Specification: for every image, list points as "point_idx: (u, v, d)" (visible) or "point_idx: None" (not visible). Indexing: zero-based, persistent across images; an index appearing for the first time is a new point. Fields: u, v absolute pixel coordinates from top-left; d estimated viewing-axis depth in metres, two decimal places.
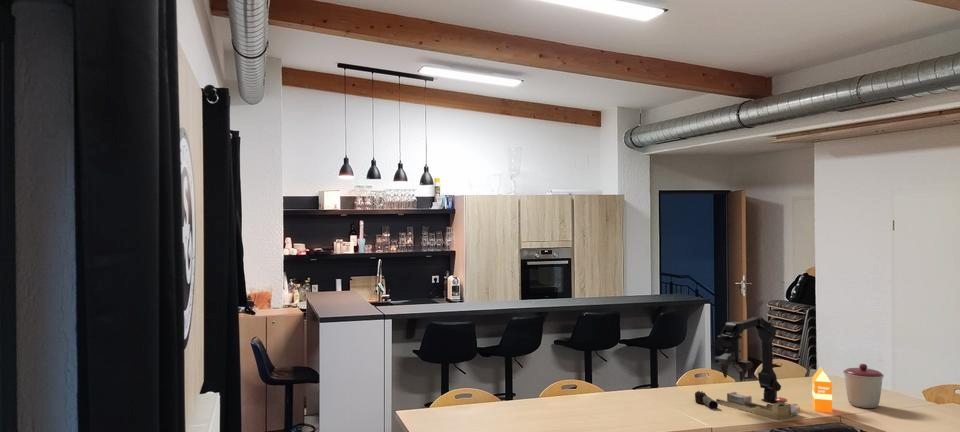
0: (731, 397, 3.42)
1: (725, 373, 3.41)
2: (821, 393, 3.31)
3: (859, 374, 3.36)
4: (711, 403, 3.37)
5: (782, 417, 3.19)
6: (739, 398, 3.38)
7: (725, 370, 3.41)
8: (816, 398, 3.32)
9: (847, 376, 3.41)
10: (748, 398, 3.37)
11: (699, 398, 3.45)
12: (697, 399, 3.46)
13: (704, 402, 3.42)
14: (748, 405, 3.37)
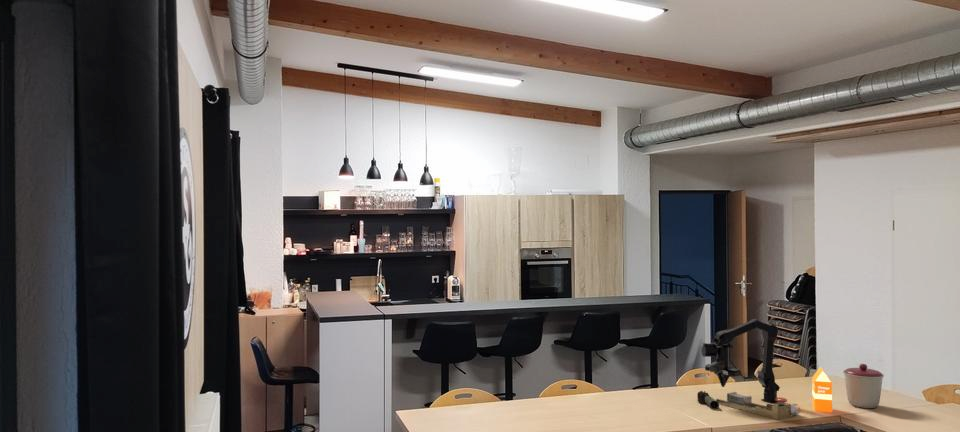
0: (731, 397, 3.42)
1: None
2: (821, 393, 3.31)
3: (859, 374, 3.36)
4: (712, 403, 3.37)
5: (782, 417, 3.19)
6: (739, 398, 3.38)
7: None
8: (816, 398, 3.32)
9: (847, 376, 3.41)
10: (748, 398, 3.37)
11: (701, 398, 3.45)
12: (699, 399, 3.46)
13: (706, 402, 3.41)
14: (748, 405, 3.37)
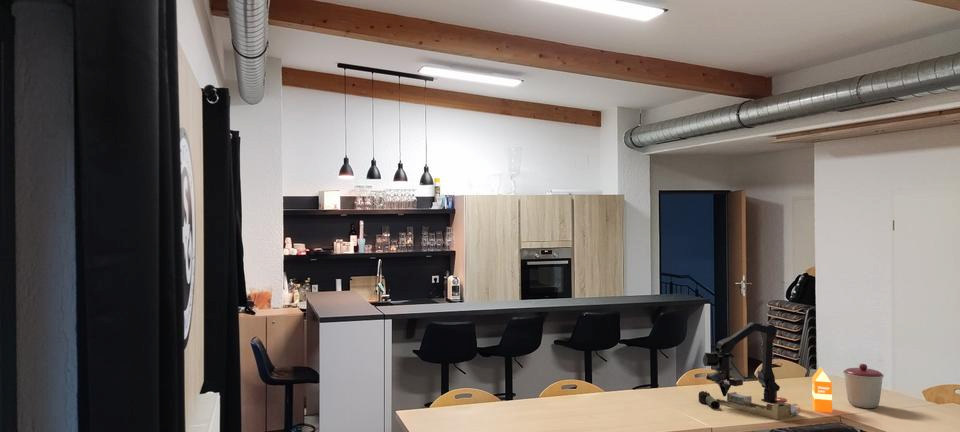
0: (731, 397, 3.42)
1: None
2: (821, 393, 3.31)
3: (859, 374, 3.36)
4: (713, 403, 3.37)
5: (782, 417, 3.19)
6: (739, 398, 3.38)
7: None
8: (816, 398, 3.32)
9: (847, 376, 3.41)
10: (748, 398, 3.37)
11: (702, 398, 3.45)
12: (700, 399, 3.46)
13: (707, 402, 3.41)
14: (748, 405, 3.37)
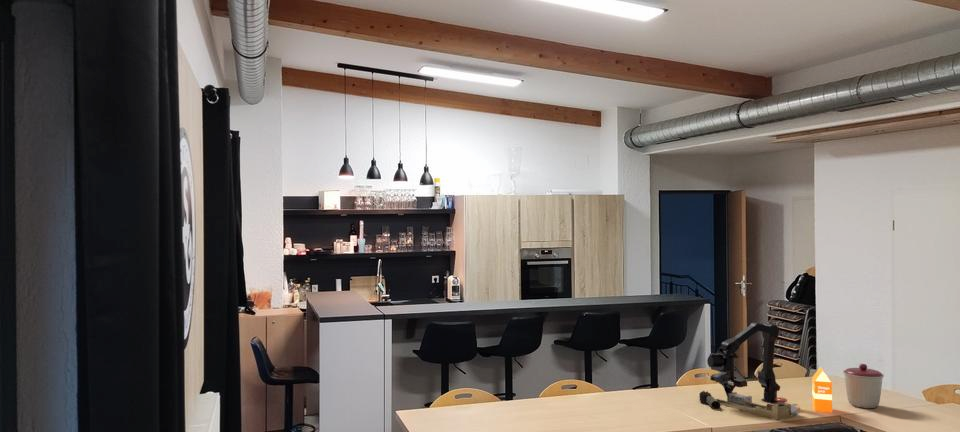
0: (731, 397, 3.42)
1: None
2: (821, 393, 3.31)
3: (859, 374, 3.36)
4: (714, 403, 3.37)
5: (782, 417, 3.19)
6: (739, 398, 3.38)
7: None
8: (816, 398, 3.32)
9: (847, 376, 3.41)
10: (748, 398, 3.37)
11: (703, 398, 3.45)
12: (701, 399, 3.46)
13: (707, 402, 3.41)
14: (748, 405, 3.37)
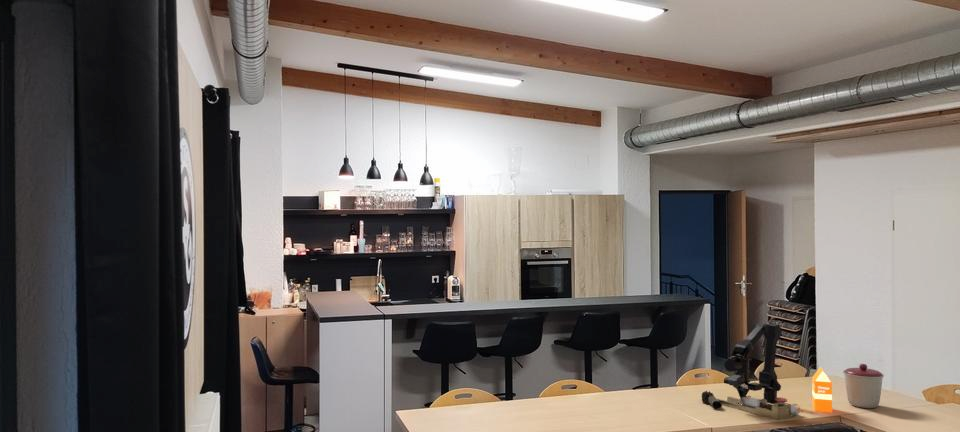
0: (746, 401, 3.34)
1: (742, 396, 3.39)
2: (821, 393, 3.31)
3: (859, 374, 3.36)
4: (715, 403, 3.37)
5: (782, 417, 3.19)
6: (754, 402, 3.30)
7: None
8: (816, 398, 3.32)
9: (847, 376, 3.41)
10: (763, 402, 3.29)
11: (705, 398, 3.45)
12: (703, 399, 3.46)
13: (709, 402, 3.41)
14: None
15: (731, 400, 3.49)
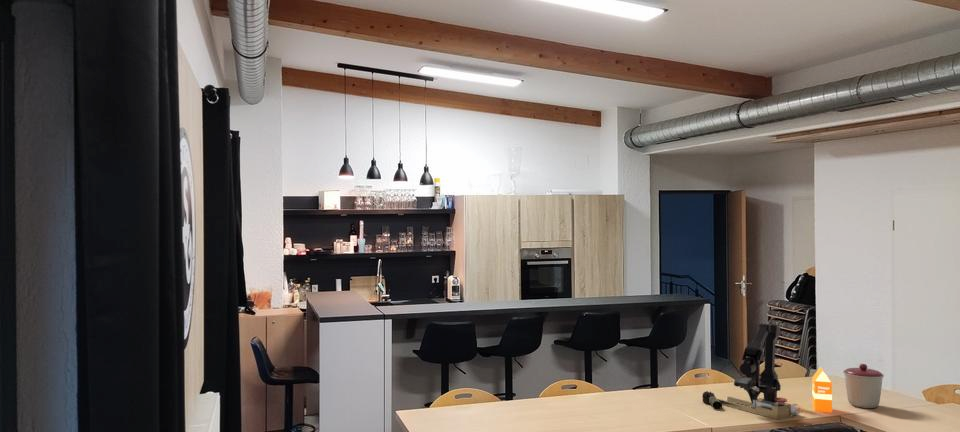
0: (757, 404, 3.29)
1: None
2: (821, 393, 3.31)
3: (859, 374, 3.36)
4: (715, 403, 3.37)
5: (782, 417, 3.19)
6: (766, 405, 3.25)
7: None
8: (816, 398, 3.32)
9: (847, 376, 3.41)
10: None
11: (706, 398, 3.45)
12: (704, 399, 3.46)
13: (710, 402, 3.41)
14: None
15: (731, 400, 3.49)
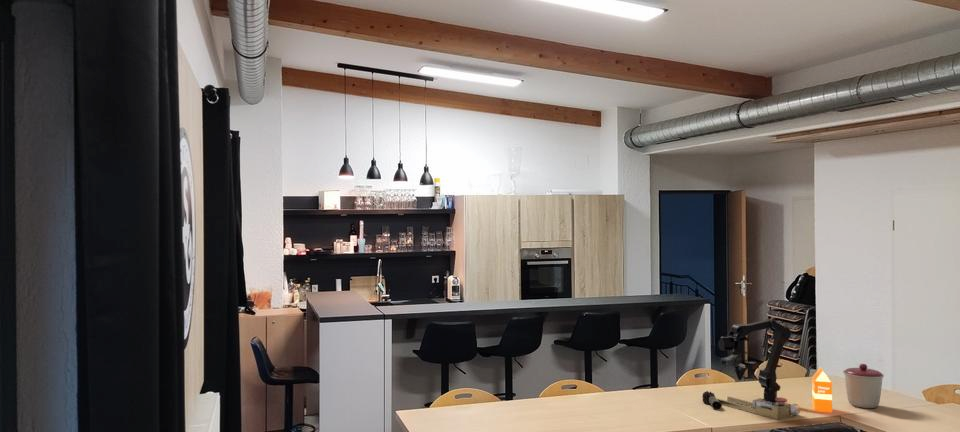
0: (757, 404, 3.29)
1: None
2: (821, 393, 3.31)
3: (859, 374, 3.36)
4: (715, 403, 3.37)
5: (782, 417, 3.19)
6: (766, 405, 3.25)
7: None
8: (816, 398, 3.32)
9: (847, 376, 3.41)
10: None
11: (706, 398, 3.45)
12: (704, 399, 3.45)
13: (709, 402, 3.41)
14: None
15: (731, 400, 3.49)
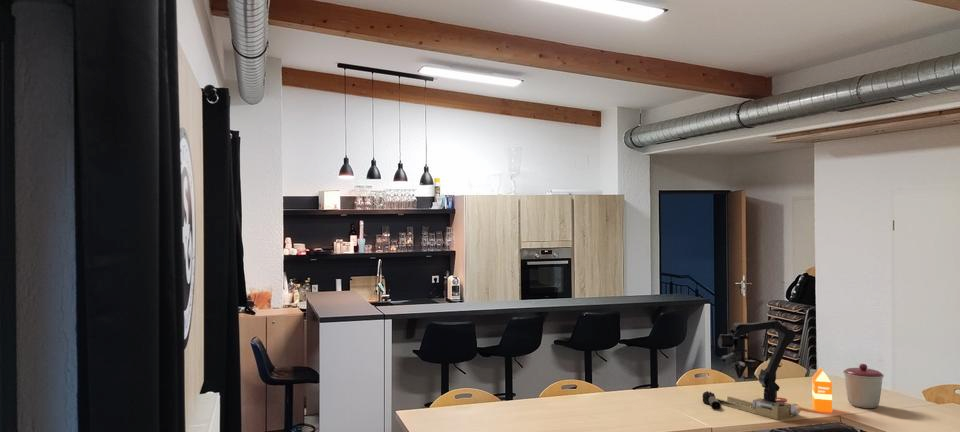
0: (757, 404, 3.29)
1: None
2: (821, 393, 3.31)
3: (859, 374, 3.36)
4: (714, 403, 3.36)
5: (782, 417, 3.19)
6: (766, 405, 3.25)
7: None
8: (816, 398, 3.32)
9: (847, 376, 3.41)
10: None
11: (705, 398, 3.45)
12: (704, 399, 3.45)
13: (709, 402, 3.41)
14: None
15: (731, 400, 3.49)
